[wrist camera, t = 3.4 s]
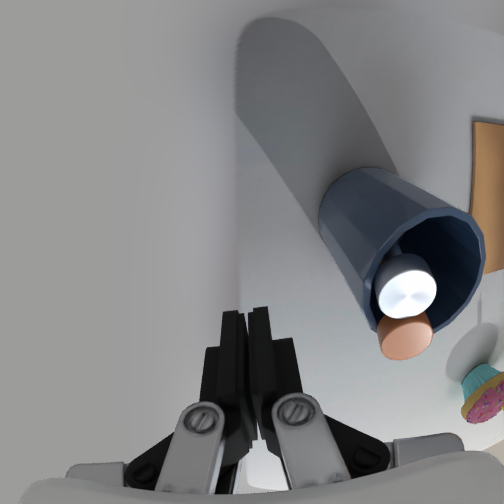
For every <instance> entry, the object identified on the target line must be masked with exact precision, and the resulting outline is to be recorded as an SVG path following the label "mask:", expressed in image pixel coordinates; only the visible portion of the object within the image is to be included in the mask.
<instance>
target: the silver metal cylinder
mask: <svg viewBox="0 0 504 504" xmlns="http://www.w3.org/2000/svg"><path fill="white" fill-rule="evenodd" d="M384 257H385V260H386V261H385V262H384V263H383V264H382V265H381V266H380V268H379V269H378V271H377V273H376V275H375V279H374V288H375V292H376V296H377V301H378V305H379V307H380V309H381V311H382V312H383V313H384V314H386V315H387V316H389V317H391V318H395V319H407V318H411V317H414V316H416V315H418V314H420V313H422V312H423V311H424V310H426V309H427V308H428V307H429V306H430V305H431V303H432V302H433V300H434V298H435V295H436V291H437V284H436V281H435V279H434V277H433V274H432V272H431V270H430V268H429V266H428V264H427V263H426V261H425V260H424V259H423V258H421V257H420V256H417V255H415V254H407V253H406V254H402V252H401V249H400V247H399V245H398V243H397V241H396V242H395V243H394V245H393V246H392V247H391V248H390V249H389V250H388V251H387V252H386V254H385V255H384Z"/></svg>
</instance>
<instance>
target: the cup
mask: <svg viewBox="0 0 504 504" xmlns="http://www.w3.org/2000/svg"><path fill="white" fill-rule="evenodd" d="M318 224H319V231H320V234H321V237H322V239H323V242H324V243H325V245H326V247H327V249H328V251H329V253H330V255H331V256H332V258H333V260H334V262H335V264H336V265H337V267H338V269H339V271H340V273H341V274H342V276H343V278H344V280H345V282H346V283H347V285H348V287H349V289H350V291H351V293H352V295H353V296H354V298H355V300H356V302H357V304H358V306H359V308H360V310H361V312H362V314H363V316H364V317H365V319H366V321H367V323H368V325H369V327H370V329H371V330H373V331H374V332H376V333H377V327H378V324H379V322H380V320H381V319H382V317H383V316H384V315H385V314H384V313H383V312H382V311H381V309H380V307H379V305H378V301H377V296H376V292H375V288H374V279H375V275H376V272H377V270H378V267H379V265H380V263H381V261H382V258H383V256H384V255H385V254H386V252H387V251H388V250H389V249H390V248H391V247H392V246H393V245H394V243H395V242H396V241H397V243H398V245H399V247H400V249H401V252H402V254H406V253H407V254H415V255H417V256H420V257H421V258H423V259H424V260H425V261H426V263H427V264H428V266H429V268H430V270H431V272H432V274H433V277H434V279H435V281H436V284H437V291H436V295H435V298H434V300H433V302H432V303H431V305H430V306H429V307H428V308H427V309H426V310H424V311H425V313H426V315H427V317H428V320H429V322H430V324H431V327H432V329H433V334H434V333H436V332H437V331H439V330H441V329H442V328H444V327H445V326H447V325H448V324H450V323H451V322H452V321H453V320H454V319H455V318H456V317H457V316H458V315H459V314H460V313H461V312H462V311H463V310H464V308H465V307H466V306H467V305H468V304H469V302H470V301H471V299H472V297H473V295H474V293H475V291H476V290H477V288H478V286H479V284H480V281H481V279H482V274H483V270H484V266H485V261H486V250H485V241H484V235H483V232H482V231H481V229H480V227H479V226H478V224H477V223H476V221H475V219H474V218H473V216H472V215H470V214H468V213H467V212H465V211H463V210H461V209H460V208H458V207H456V206H455V205H453V204H451V203H449V202H447V201H446V200H444V199H442V198H440V197H438V196H437V195H435V194H433V193H431V192H429V191H427V190H425V189H423V188H421V187H419V186H418V185H416V184H414V183H412V182H410V181H408V180H406V179H404V178H401V177H399V176H397V175H395V174H393V173H390V172H388V171H386V170H383V169H380V168H375V167H363V168H358V169H355V170H352V171H350V172H347V173H346V174H344V175H343V176H341V177H340V178H339V179H337V180H336V181H335V182H334V183H333V184H332V185H331V187H330V188H329V189H328V191H327V192H326V194H325V196H324V198H323V200H322V203H321V206H320V210H319V217H318ZM384 258H385V257H384Z"/></svg>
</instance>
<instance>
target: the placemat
mask: <svg viewBox="0 0 504 504" xmlns="http://www.w3.org/2000/svg"><path fill="white" fill-rule="evenodd" d="M472 123H473V173H472V191H471V203H470V215H472V216H473V218H474V219H475V221H476V223H477V224H478V226H479V227H480V229H481V231H482V232H483V235H484V241H485V250H486V261H485V266H484V270H483V274H487V273H491V272H494V271H498V270H501V269H504V125H500V124H492V123H484V122H476V121H473V122H472ZM483 274H482V275H483Z"/></svg>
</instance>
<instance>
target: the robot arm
mask: <svg viewBox="0 0 504 504" xmlns="http://www.w3.org/2000/svg"><path fill="white" fill-rule="evenodd" d="M257 422H258V426H259V430H260V434H261V438H262V440H264V439H265V440H266V444H267V448H268V451H270V452H271V453H273V454H274V455H276V456H278V457H279V458H280V462H281V466H282V469H283V472H284V476H285V479H286V483H287V486H288V489H289V490H287V491H278V492H267V493H253V494H237V489H238V483H239V478H240V472H241V467H242V458H243V457H244V456H245V455H246V454H247V453H249V449H250V448H252V441H253V440H257V439H258V435H257ZM19 504H504V466H503V464H502V463H501V462H500V461H499V460H498V459H497V458H496V457H495V456H493V455H492V454H490V453H487V452H483V451H465V450H464V445H463V442H462V440H461V438H460V437H458V436H457V435H456V434H453V433H440V434H434V435H427V436H420V437H412V438H404V439H394V440H393V442H386V443H383V442H382V441H380V440H378V439H376V438H373V437H371V436H369V435H367V434H365V433H362V432H360V431H358V430H356V429H354V428H351V427H349V426H347V425H345V424H343V423H341V422H339V421H337V420H335V419H333V418H331V417H329V416H327V415H325V414H323V412H322V410H321V407H320V405H319V403H318V402H317V400H316V399H315V398H313V397H312V396H310V395H307V394H305V393H303V390H302V384H301V379H300V374H299V369H298V364H297V359H296V353H295V348H294V343H293V339H292V338H285V339H278V340H272V335H271V328H270V321H269V313H268V306H266V307H258V308H253V312H249V313H248V332H247V327H246V321H245V316H244V313H241V314H239V313H238V310H234V311H225V312H223V316H222V328H221V339H220V346H217V347H207V349H206V352H205V360H204V367H203V375H202V383H201V391H200V399H199V402H197V403H194V404H192V405H190V406H188V407H187V408H186V409H185V410H184V411H183V412H182V414H181V415H180V417H179V420H178V424H177V426H176V429H175V432H173V433H172V434H170V435H169V436H168V437H166V438H165V439H163V440H162V441H160V442H159V443H158V444H156V445H155V446H153V447H152V448H150V449H149V450H147V451H146V452H145V453H143V454H142V455H140V456H138V457H137V458H135V459H134V460H133V461H132V462H130V463H128V464H125V463H124V462H112V463H92V464H77V465H74V466H72V467H70V469H69V470H68V471H67V474H66V477H65V478H49V479H44V480H40V481H37V482H34V483H32V484H31V485H30V486H29V487H28V488H27V489H26V490H25V492H24V493H23V495H22V497H21V499H20V501H19Z"/></svg>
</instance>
